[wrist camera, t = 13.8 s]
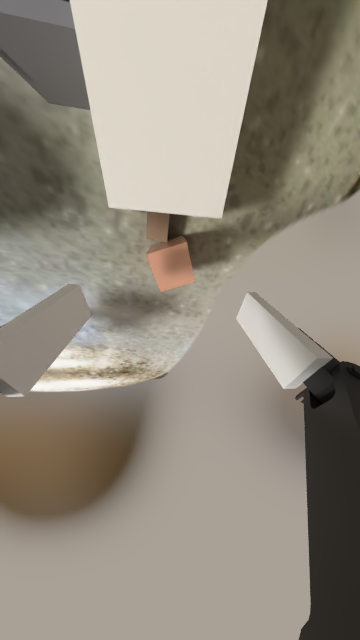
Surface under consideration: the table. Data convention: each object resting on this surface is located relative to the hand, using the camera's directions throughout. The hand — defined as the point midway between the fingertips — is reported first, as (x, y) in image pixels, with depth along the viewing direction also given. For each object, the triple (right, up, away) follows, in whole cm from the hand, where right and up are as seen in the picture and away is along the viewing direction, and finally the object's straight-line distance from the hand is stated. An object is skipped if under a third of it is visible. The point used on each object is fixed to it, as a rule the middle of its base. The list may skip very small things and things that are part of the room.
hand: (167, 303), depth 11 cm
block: (0, +8, +9) cm, 12 cm away
